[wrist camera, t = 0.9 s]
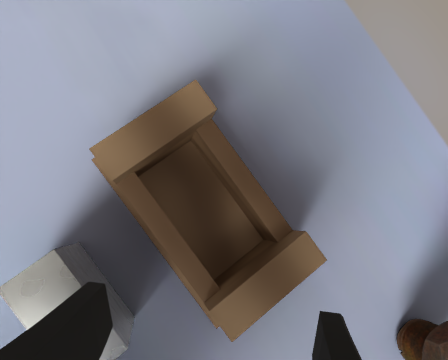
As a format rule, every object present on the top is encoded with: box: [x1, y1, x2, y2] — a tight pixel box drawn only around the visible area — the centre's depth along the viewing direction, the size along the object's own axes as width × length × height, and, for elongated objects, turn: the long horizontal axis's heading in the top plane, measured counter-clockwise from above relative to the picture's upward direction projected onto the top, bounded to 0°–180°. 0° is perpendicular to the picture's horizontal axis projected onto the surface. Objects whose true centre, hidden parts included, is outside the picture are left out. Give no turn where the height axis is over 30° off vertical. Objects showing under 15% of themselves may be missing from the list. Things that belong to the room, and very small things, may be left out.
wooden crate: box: [90, 80, 327, 342], centre depth 22 cm, size 8×14×6 cm, turn 37°
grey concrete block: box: [0, 242, 135, 360], centre depth 20 cm, size 3×6×6 cm, turn 37°
